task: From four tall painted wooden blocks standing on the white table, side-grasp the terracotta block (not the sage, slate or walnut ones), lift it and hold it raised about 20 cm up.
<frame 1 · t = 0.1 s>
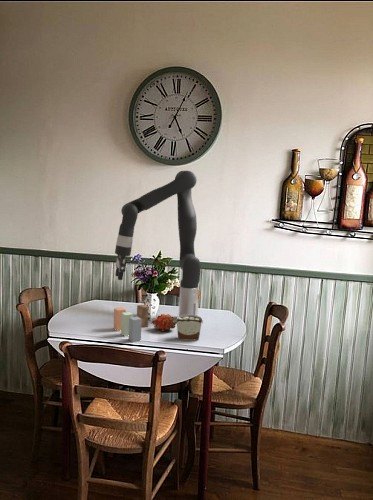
hand: (118, 277, 224), 22 cm above the table, tool pointing down, fingers open, 8 cm apart
dragon fruit: (163, 330, 219), on the table
slate block: (134, 340, 204), on the table
food container: (188, 338, 210), on the table
sage block: (126, 334, 210), on the table
terracotta block: (119, 329, 217), on the table
walnut block: (142, 326, 224), on the table
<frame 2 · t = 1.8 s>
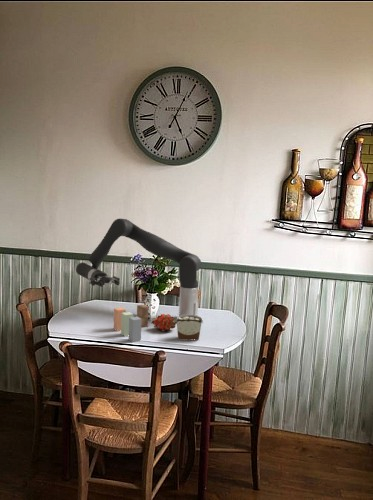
hand: (110, 284, 223), 19 cm above the table, tool horizontal, fingers open, 8 cm apart
nothing on the table moved.
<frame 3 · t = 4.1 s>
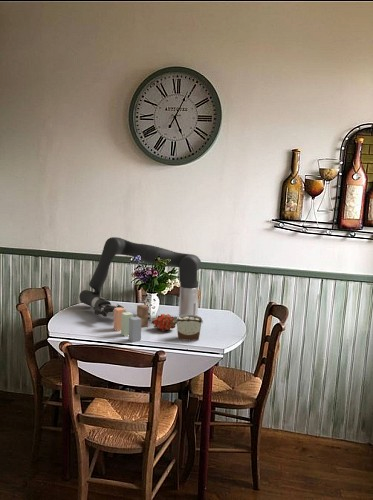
hand: (114, 313, 221), 6 cm above the table, tool horizontal, fingers open, 8 cm apart
nothing on the table moved.
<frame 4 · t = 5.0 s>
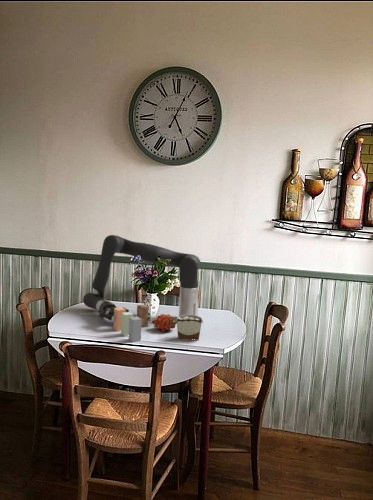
hand: (119, 317, 216), 6 cm above the table, tool horizontal, fingers open, 8 cm apart
nothing on the table moved.
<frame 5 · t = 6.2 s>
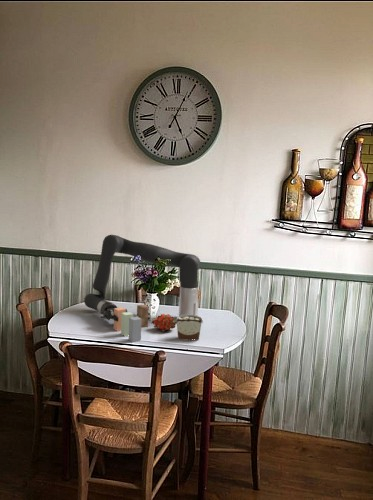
hand: (122, 318, 214), 6 cm above the table, tool horizontal, fingers closed on terracotta block, 4 cm apart
terracotta block: (119, 329, 217), on the table, touching gripper
everything else where it was.
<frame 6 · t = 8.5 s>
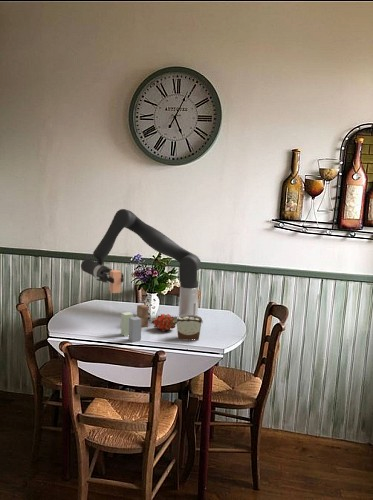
hand: (117, 280, 216), 23 cm above the table, tool horizontal, fingers closed on terracotta block, 4 cm apart
terracotta block: (115, 291, 219), point 17 cm above the table, touching gripper
everything else where it was.
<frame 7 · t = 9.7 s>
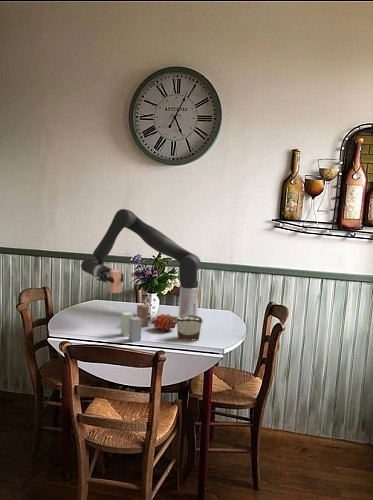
hand: (117, 280, 216), 23 cm above the table, tool horizontal, fingers closed on terracotta block, 4 cm apart
terracotta block: (115, 291, 219), point 17 cm above the table, touching gripper
everything else where it was.
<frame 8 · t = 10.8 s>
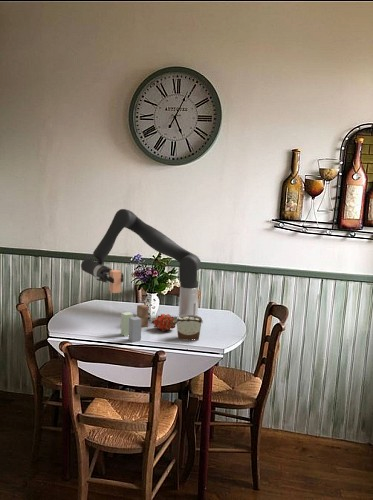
hand: (117, 280, 216), 23 cm above the table, tool horizontal, fingers closed on terracotta block, 4 cm apart
terracotta block: (115, 291, 219), point 17 cm above the table, touching gripper
everything else where it was.
at the end: the gripper is holding terracotta block; terracotta block point 16.8 cm above the table; sage block moved 0.0 cm from its start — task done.
